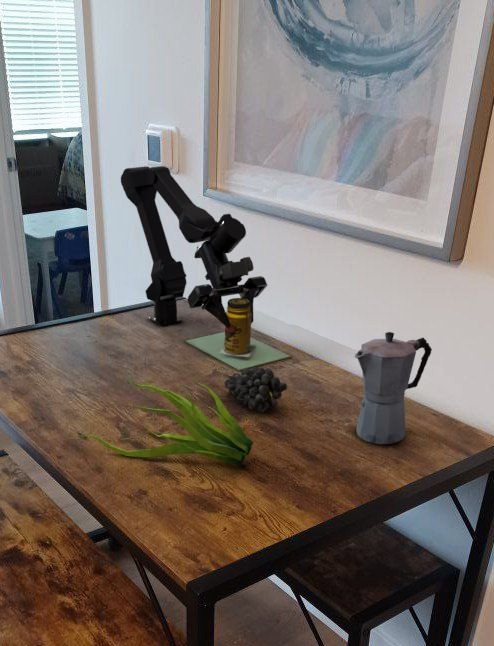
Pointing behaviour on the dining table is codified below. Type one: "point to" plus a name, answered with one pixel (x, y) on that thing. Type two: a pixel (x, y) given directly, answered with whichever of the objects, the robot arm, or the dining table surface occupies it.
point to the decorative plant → (195, 432)
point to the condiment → (238, 328)
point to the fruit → (256, 388)
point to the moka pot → (387, 386)
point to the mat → (258, 356)
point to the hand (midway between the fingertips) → (240, 324)
